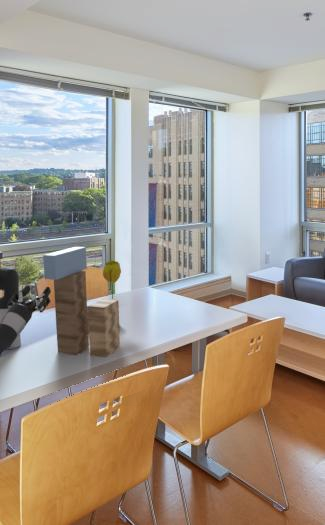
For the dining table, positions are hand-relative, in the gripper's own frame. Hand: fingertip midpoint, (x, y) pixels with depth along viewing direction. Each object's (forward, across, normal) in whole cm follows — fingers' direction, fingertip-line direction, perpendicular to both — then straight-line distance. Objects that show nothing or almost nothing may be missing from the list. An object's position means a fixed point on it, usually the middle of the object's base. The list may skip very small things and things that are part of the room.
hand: (39, 287), depth 167 cm
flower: (+34, -1, -55) cm, 65 cm away
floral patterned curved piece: (+22, -5, -48) cm, 54 cm away
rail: (+16, 0, -8) cm, 18 cm away
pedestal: (+2, 0, -36) cm, 37 cm away
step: (+5, +13, -38) cm, 40 cm away
